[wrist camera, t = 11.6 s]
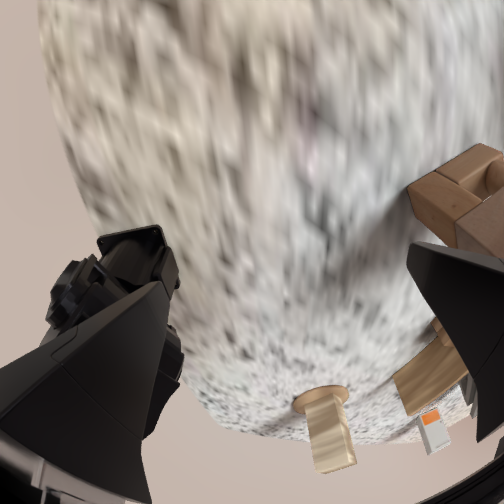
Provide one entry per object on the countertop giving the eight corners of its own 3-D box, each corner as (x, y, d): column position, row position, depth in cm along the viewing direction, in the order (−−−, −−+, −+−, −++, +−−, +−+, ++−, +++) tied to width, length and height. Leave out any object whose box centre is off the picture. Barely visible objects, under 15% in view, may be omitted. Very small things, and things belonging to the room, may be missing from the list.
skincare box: (437, 406, 51) (452, 441, 41) (433, 412, 53) (447, 446, 43) (418, 415, 52) (431, 452, 41) (415, 420, 54) (427, 456, 44)
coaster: (294, 415, 42) (294, 418, 41) (292, 391, 37) (292, 395, 36) (344, 405, 41) (345, 407, 41) (351, 380, 36) (352, 383, 36)
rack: (374, 371, 36) (390, 415, 29) (460, 290, 29) (491, 332, 22) (395, 376, 38) (411, 416, 31) (473, 304, 30) (500, 341, 24)
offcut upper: (437, 334, 30) (444, 345, 28) (453, 314, 28) (461, 325, 26) (448, 335, 30) (455, 346, 29) (464, 317, 29) (471, 328, 27)
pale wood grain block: (304, 404, 38) (315, 472, 28) (332, 392, 37) (348, 462, 27) (314, 410, 40) (325, 473, 30) (341, 398, 38) (357, 463, 28)
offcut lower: (429, 321, 31) (436, 332, 30) (448, 301, 30) (456, 312, 28) (439, 327, 32) (446, 337, 31) (457, 309, 31) (464, 319, 29)
